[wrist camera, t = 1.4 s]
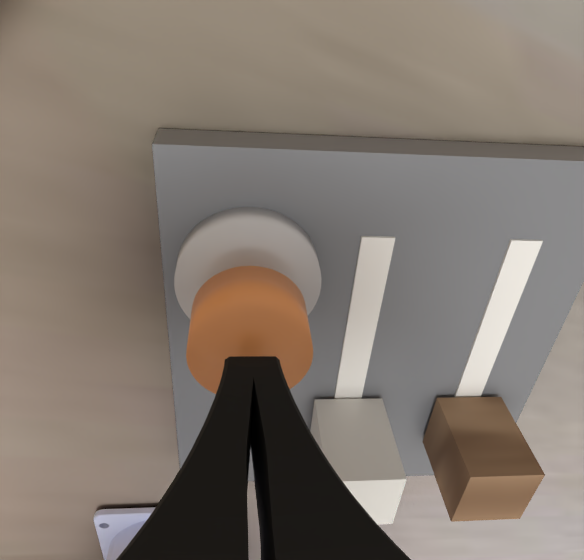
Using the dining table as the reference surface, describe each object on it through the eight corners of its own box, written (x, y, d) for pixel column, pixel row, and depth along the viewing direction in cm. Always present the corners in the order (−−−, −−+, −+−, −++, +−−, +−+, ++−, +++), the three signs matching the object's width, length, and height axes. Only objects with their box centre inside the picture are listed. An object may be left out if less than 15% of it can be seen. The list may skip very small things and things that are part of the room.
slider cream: (371, 442, 24) (392, 524, 21) (308, 443, 24) (319, 526, 20) (382, 398, 22) (406, 479, 19) (314, 399, 22) (327, 481, 19)
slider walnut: (482, 439, 25) (519, 518, 21) (422, 441, 24) (451, 521, 21) (501, 396, 23) (544, 475, 20) (437, 397, 22) (470, 477, 19)
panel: (481, 449, 28) (500, 490, 26) (183, 457, 26) (179, 502, 24) (612, 147, 18) (660, 175, 16) (158, 128, 16) (147, 155, 14)
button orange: (301, 355, 17) (307, 399, 16) (194, 355, 17) (189, 401, 15) (310, 266, 15) (319, 306, 14) (189, 265, 15) (183, 306, 13)
